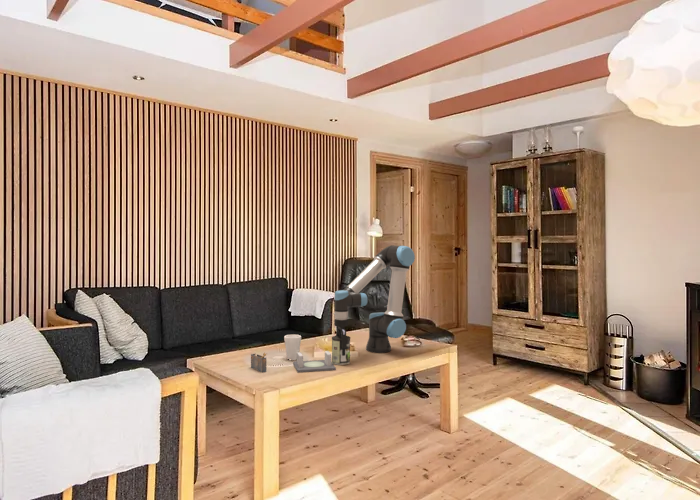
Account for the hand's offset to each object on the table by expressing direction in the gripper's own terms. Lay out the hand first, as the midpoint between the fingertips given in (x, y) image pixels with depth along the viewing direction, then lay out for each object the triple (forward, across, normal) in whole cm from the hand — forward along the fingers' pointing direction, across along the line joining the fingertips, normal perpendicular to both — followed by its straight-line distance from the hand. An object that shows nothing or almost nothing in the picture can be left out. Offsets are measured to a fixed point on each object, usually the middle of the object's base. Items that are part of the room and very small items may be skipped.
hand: (340, 358), depth 265 cm
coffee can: (+2, 0, 0) cm, 2 cm away
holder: (+2, +6, -16) cm, 17 cm away
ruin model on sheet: (+3, +4, -45) cm, 45 cm away
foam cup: (+2, -13, -25) cm, 28 cm away
